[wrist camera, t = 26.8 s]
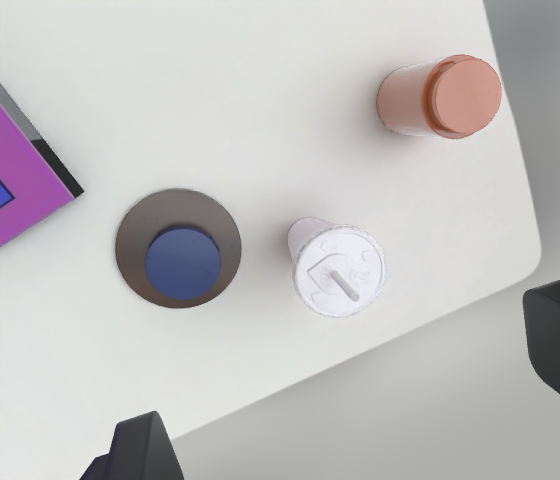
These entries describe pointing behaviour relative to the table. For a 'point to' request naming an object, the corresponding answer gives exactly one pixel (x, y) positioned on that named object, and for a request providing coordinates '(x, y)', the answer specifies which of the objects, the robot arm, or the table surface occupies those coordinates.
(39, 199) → the book
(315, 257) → the smoothie
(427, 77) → the jar
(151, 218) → the coaster
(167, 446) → the robot arm
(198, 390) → the table surface
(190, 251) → the jar lid
